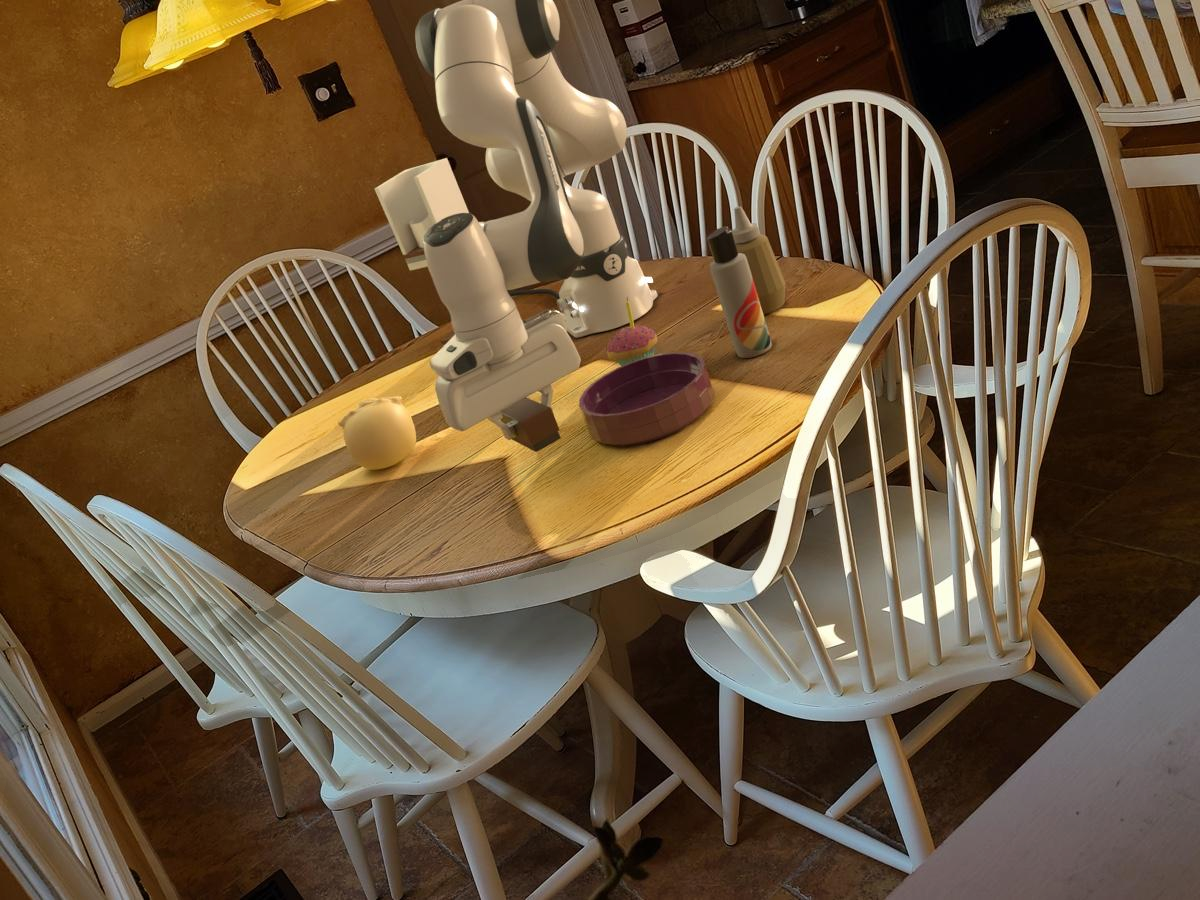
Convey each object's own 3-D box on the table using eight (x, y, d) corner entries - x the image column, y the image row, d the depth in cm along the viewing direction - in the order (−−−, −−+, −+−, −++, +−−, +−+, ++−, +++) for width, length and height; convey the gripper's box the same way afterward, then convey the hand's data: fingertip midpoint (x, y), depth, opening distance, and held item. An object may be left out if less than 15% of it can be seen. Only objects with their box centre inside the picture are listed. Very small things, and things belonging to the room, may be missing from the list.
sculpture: (421, 433, 190) (396, 378, 186) (426, 458, 179) (399, 400, 175) (358, 459, 190) (331, 404, 185) (359, 486, 179) (331, 428, 174)
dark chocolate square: (508, 439, 156) (496, 410, 154) (535, 424, 158) (523, 395, 156) (535, 453, 148) (522, 423, 147) (563, 438, 150) (551, 407, 148)
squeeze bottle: (792, 293, 189) (764, 193, 182) (789, 311, 182) (760, 208, 175) (746, 305, 192) (716, 206, 184) (742, 323, 185) (710, 221, 177)
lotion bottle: (774, 351, 170) (738, 228, 162) (738, 362, 170) (700, 241, 162) (770, 338, 175) (734, 219, 167) (735, 349, 176) (698, 231, 168)
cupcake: (646, 353, 187) (623, 288, 183) (675, 359, 180) (652, 292, 176) (606, 377, 184) (582, 311, 179) (634, 384, 177) (610, 316, 172)
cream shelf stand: (470, 326, 238) (404, 170, 224) (511, 318, 233) (446, 157, 219) (444, 349, 229) (374, 188, 215) (486, 342, 224) (417, 176, 210)
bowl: (569, 432, 169) (557, 400, 167) (670, 375, 175) (659, 344, 173) (632, 461, 153) (619, 426, 150) (741, 397, 159) (730, 363, 157)
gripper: (547, 301, 153) (581, 389, 159) (418, 367, 146) (458, 456, 152) (568, 306, 148) (602, 397, 153) (434, 375, 141) (475, 467, 146)
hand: (529, 427), depth 152 cm, fingers closed on dark chocolate square, 4 cm apart
